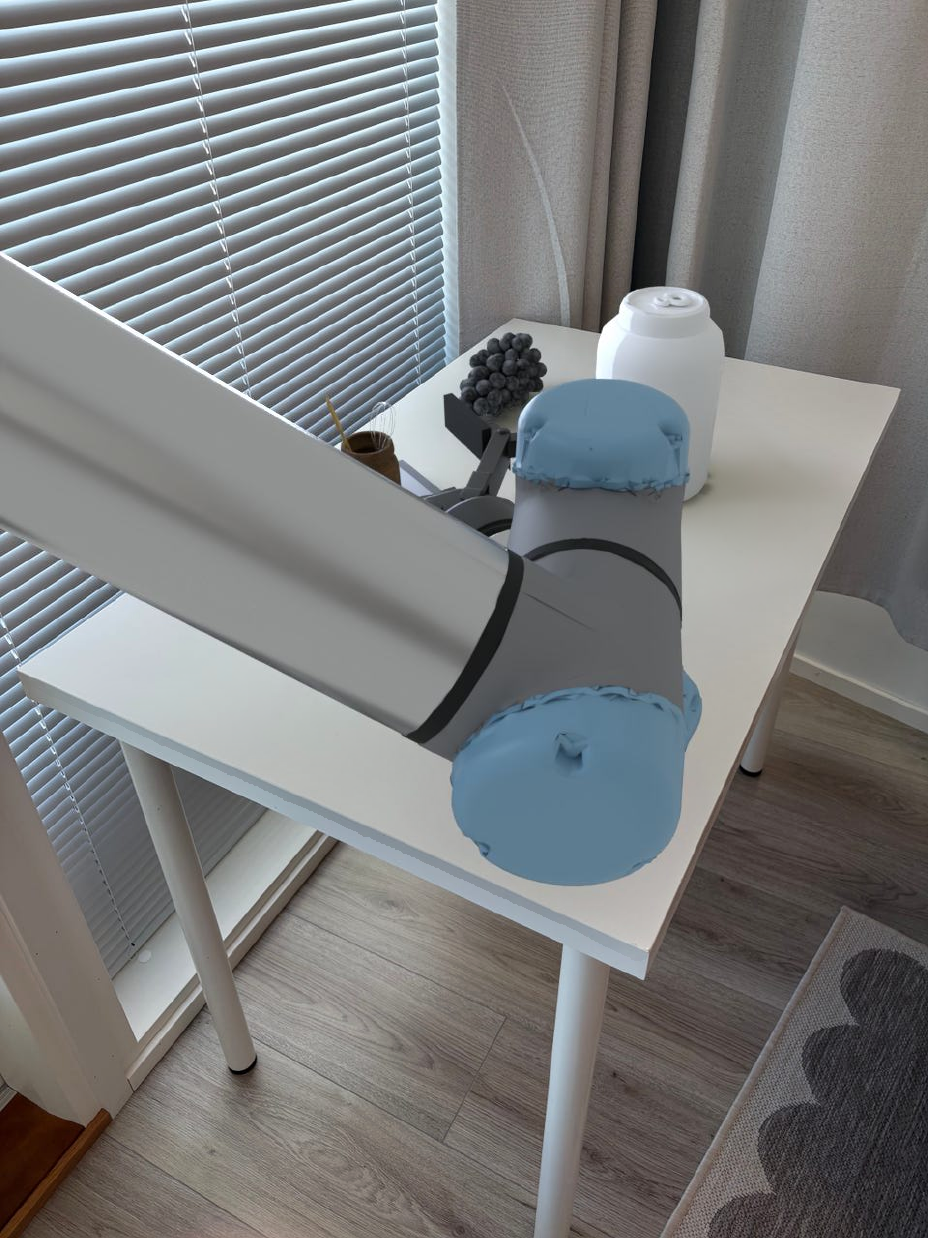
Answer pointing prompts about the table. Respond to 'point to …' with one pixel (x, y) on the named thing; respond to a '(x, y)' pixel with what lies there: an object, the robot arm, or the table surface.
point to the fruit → (503, 375)
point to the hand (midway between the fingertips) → (367, 430)
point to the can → (670, 360)
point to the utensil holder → (371, 447)
